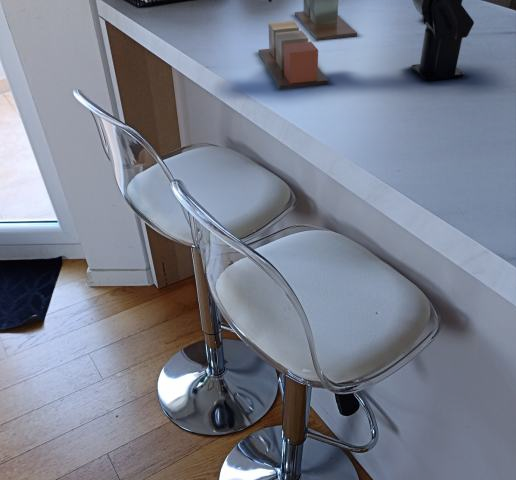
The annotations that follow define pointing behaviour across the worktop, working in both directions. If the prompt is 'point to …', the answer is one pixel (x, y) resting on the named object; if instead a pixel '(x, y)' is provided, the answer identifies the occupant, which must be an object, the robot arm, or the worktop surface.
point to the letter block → (300, 62)
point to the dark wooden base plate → (324, 20)
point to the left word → (275, 54)
